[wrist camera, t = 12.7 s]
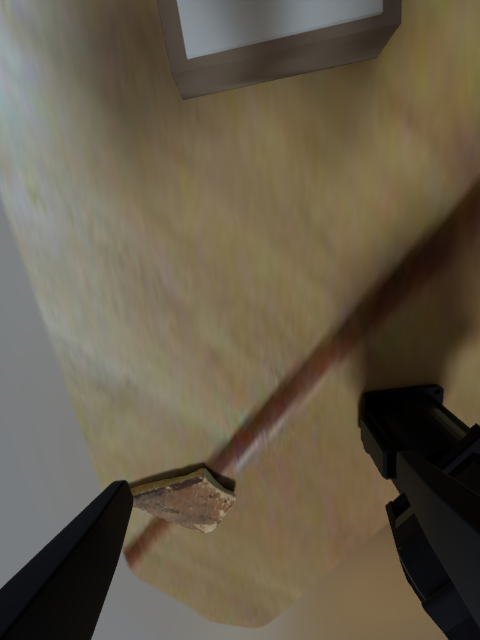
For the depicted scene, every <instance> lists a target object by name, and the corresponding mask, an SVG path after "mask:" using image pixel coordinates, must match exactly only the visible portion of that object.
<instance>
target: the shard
mask: <svg viewBox="0 0 480 640" xmlns="http://www.w3.org/2000/svg"><path fill="white" fill-rule="evenodd" d="M130 490H131V492H132V495H133V499H134V502H133V507H135V508H139V509H142V510H143V511H146V512H148V513H150V514H152V515H154V516H156V517H159V518H162V519H165V520H167V521H169V522H171V523H175V524H178V525H181V526H183V527H186V528H189V529H194V530H197V531H200V532H202V533H207V532H211V531H212V530H213V529H214V528H216V527H217V526H218V524H219V523H220V522H221V520H222V518H223V517H224V515H225V514H226V513H227V511H228V510H229V509H230V508H231V506H232V505H233V504H234V502H235V499H236V494H235V493H234V492H232V491H229V490H227V489H225V488H223V486H221V485H220V484H219V483H218V482H217V481H216V480H215V479H214V478H213V477H212V475H211V474H210V473H209V472H208V470H207V469H206V468H200V469H199V470H197V471H195V472H192V473H190V474H188V475H186V476H180V477H175V478H170V479H164V480H160V481H156V482H151V483H148V484H142V485H139V486H136V487H134V488H132V489H130Z"/></svg>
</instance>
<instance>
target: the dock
mask: <svg viewBox="0 0 480 640" xmlns="http://www.w3.org/2000/svg"><path fill="white" fill-rule="evenodd" d="M157 2H158V7H159V12H160V17H161V23H162V28H163V33H164V38H165V43H166V48H167V53H168V58H169V63H170V68H171V73H172V77H173V79H174V81H175V83H176V85H177V87H178V90H179V92H180V94H181V96H182V98H183V100H185V99H189V98H194V97H198V96H203V95H207V94H212V93H216V92H221V91H226V90H230V89H235V88H239V87H244V86H248V85H253V84H258V83H262V82H267V81H271V80H276V79H280V78H285V77H289V76H294V75H299V74H303V73H308V72H312V71H317V70H321V69H326V68H331V67H335V66H340V65H344V64H349V63H353V62H358V61H363V60H367V59H372V58H376V57H377V56H378V55H379V53H380V52H381V50H382V49H383V48H384V46H385V45H386V43H387V42H388V41H389V39H390V38H391V36H392V35H393V33H394V32H395V31H396V29H397V28H398V26H399V25H400V23H401V3H402V0H157Z"/></svg>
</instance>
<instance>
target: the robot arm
mask: <svg viewBox="0 0 480 640" xmlns="http://www.w3.org/2000/svg"><path fill="white" fill-rule="evenodd" d="M435 390H436V391H435ZM443 393H444V390H443V388H442V387H441V386H439V385H437V384H431V385H423V386H414V387H406V388H398V389H389V390H381V391H372V392H367V393H365V394H364V395H363V415H362V416H361V440H362V442H363V444H364V449H365V451H366V453H368V454H370V456H371V458H372V459H373V461H374V463H375V465H376V466H377V468H378V470H379V472H380V473H381V475H382V477H383V478H385V479H386V480H387V479H391V480H392V482H393V484H394V485H395V487H396V489H397V490H398V492H399V494H400V495H399V496H398V497H397V498H396V499H395V500H394V501H393V502H392V501H390V502H389V503H388V504H387V505H386V506H385V507H386V511H387V515H388V518H389V522H390V526H391V529H392V533H393V537H394V540H395V544H396V548H397V551H398V555H399V559H400V562H401V565H402V568H403V571H404V573H405V576H406V579H407V581H408V583H409V584H410V585H411V586H412V588H413V590H414V592H415V593H416V595H417V596H418V598H419V599H420V601H421V603H422V607H423V608H424V610H425V611H426V613H427V614H428V615H429V616H430V617H431V618H432V620H433V621H434V622H435V623H436V624H437V626H438V627H439V628H440V629H441V630H442V631H443V633H444V634H445V635H446V637H447V638H448V640H480V425H478V424H477V423H476V424H475V425H474V426H472V427H471V428H469V427H468V426H467V425H466V424H464V423H463V422H462V421H461V420H460V419H458V418H457V417H456V416H455V415H454V414H453V413H451V412H450V411H449V410H448V409H447V408H445V407H444V406H443V405H442V403H443ZM369 397H371V398H370V399H368V398H369ZM133 502H134V499H133V495H132V492H131V490H130V487H129V485H128V482H127V481H126V480H119V481H114V482H112V483H111V484H110V485H109V486H108V487H107V488H106V489H105V490H104V491H103V492H102V493H101V494H100V495H99V496H97V498H95V499H94V500H93V501H92V502H91V503H90V504H89V505H88V506H87V507H86V508H85V509H84V510H83V511H82V512H81V513H80V514H79V515H78V516H77V517H75V518H74V519H73V520H72V521H71V522H70V523H69V524H68V525H67V526H66V527H65V528H64V529H63V530H62V531H61V532H60V533H59V534H58V535H57V536H55V537H54V539H52V540H51V541H50V542H49V543H48V544H47V545H46V546H45V547H44V548H43V549H42V550H41V551H40V552H39V553H38V554H37V555H36V556H34V557H33V558H32V559H31V560H30V561H29V562H28V563H27V564H26V565H25V566H24V567H23V568H22V569H21V570H20V571H19V572H18V573H17V574H16V575H15V576H13V577H12V578H11V579H10V580H9V581H8V582H7V583H6V584H5V585H4V586H3V587H2V588H1V589H0V640H91V638H92V635H93V633H94V630H95V627H96V624H97V621H98V618H99V615H100V613H101V610H102V607H103V604H104V601H105V598H106V595H107V592H108V590H109V586H110V584H111V581H112V578H113V575H114V572H115V569H116V566H117V563H118V560H119V557H120V553H121V549H122V546H123V542H124V538H125V534H126V530H127V526H128V523H129V519H130V515H131V511H132V507H133Z"/></svg>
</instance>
